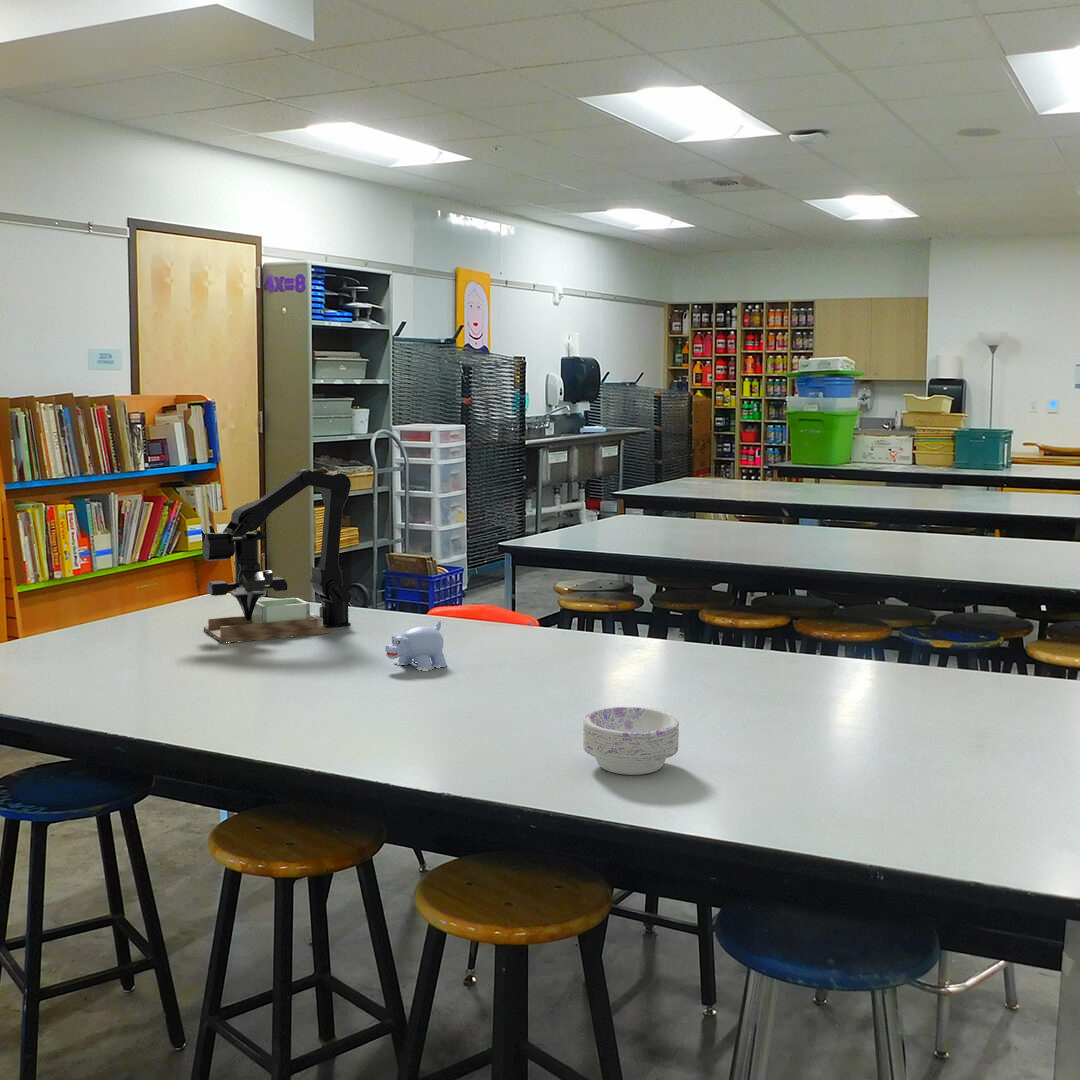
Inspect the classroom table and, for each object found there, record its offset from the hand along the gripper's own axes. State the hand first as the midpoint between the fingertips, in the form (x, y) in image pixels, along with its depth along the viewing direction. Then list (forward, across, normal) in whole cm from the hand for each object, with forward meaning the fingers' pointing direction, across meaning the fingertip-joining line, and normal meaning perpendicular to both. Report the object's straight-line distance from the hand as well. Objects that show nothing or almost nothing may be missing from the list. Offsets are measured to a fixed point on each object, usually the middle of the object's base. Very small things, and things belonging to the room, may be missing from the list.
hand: (248, 620), depth 286 cm
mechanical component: (+4, +5, +18) cm, 19 cm away
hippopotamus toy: (+4, +22, -53) cm, 57 cm away
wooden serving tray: (+3, +5, 0) cm, 6 cm away
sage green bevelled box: (+2, +8, 0) cm, 9 cm away
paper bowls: (+4, +24, -134) cm, 136 cm away
